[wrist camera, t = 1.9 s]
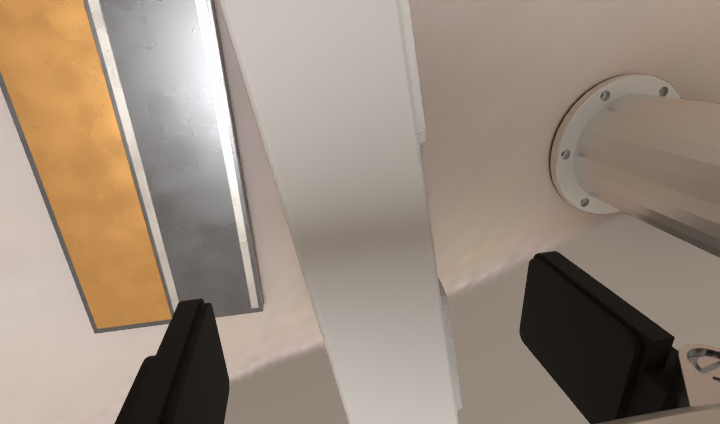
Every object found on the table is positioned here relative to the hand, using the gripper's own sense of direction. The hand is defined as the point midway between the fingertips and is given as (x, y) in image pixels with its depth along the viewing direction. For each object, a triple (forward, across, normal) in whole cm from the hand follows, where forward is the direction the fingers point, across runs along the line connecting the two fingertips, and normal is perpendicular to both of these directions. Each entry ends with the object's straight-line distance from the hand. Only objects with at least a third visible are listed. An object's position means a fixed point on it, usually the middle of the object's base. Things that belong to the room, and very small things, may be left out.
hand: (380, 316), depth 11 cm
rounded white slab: (+22, -1, 0) cm, 22 cm away
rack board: (+22, +13, +1) cm, 26 cm away
